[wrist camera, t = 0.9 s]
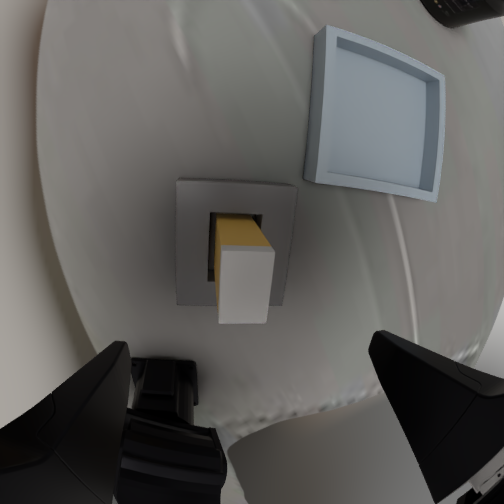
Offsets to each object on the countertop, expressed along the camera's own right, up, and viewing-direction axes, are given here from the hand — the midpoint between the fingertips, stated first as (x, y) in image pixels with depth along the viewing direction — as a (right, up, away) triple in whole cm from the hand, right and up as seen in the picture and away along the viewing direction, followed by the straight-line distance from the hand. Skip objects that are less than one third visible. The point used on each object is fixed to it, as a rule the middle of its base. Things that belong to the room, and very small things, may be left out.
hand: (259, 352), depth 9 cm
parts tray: (+10, +14, +10) cm, 20 cm away
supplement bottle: (+20, +31, +6) cm, 38 cm away
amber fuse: (-2, +4, +12) cm, 13 cm away
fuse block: (-2, +4, +12) cm, 13 cm away
